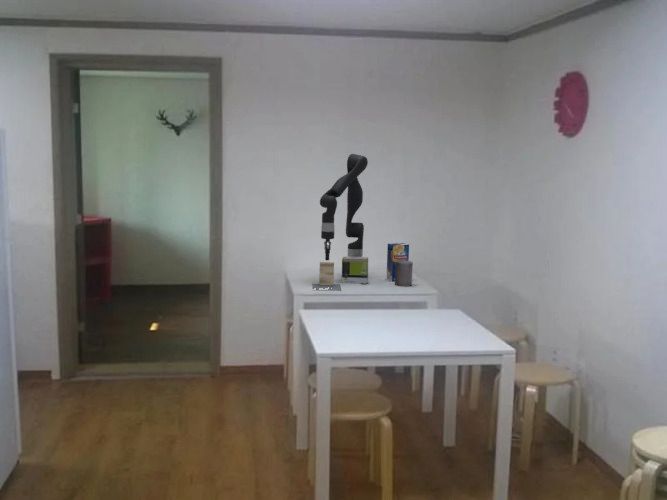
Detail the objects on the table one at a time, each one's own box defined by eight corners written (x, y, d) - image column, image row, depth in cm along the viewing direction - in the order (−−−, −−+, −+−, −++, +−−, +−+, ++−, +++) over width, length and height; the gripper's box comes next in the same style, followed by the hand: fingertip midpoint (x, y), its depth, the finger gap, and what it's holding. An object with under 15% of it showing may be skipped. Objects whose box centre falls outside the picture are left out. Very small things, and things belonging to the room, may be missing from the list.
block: (319, 284, 414) (319, 261, 412) (333, 284, 414) (333, 262, 412) (319, 285, 409) (319, 263, 407) (333, 286, 409) (334, 263, 407)
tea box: (368, 281, 429) (368, 256, 427) (367, 284, 419) (367, 259, 417) (342, 280, 430) (343, 255, 428) (341, 283, 420) (341, 258, 418)
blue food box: (407, 280, 434) (409, 244, 431) (392, 281, 429) (393, 245, 426) (401, 278, 440) (403, 243, 437) (386, 279, 435) (387, 243, 432)
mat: (312, 284, 415) (312, 283, 415) (340, 284, 415) (340, 284, 415) (312, 290, 395) (312, 290, 395) (341, 291, 396) (341, 290, 396)
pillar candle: (392, 283, 423) (393, 258, 420) (407, 282, 426) (408, 257, 424) (399, 286, 414) (400, 261, 411) (414, 286, 417) (415, 260, 415)
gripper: (320, 229, 422) (320, 258, 424) (321, 231, 409) (321, 261, 411) (333, 229, 423) (333, 258, 425) (334, 231, 410) (334, 261, 412)
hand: (327, 260), depth 418 cm, fingers closed
